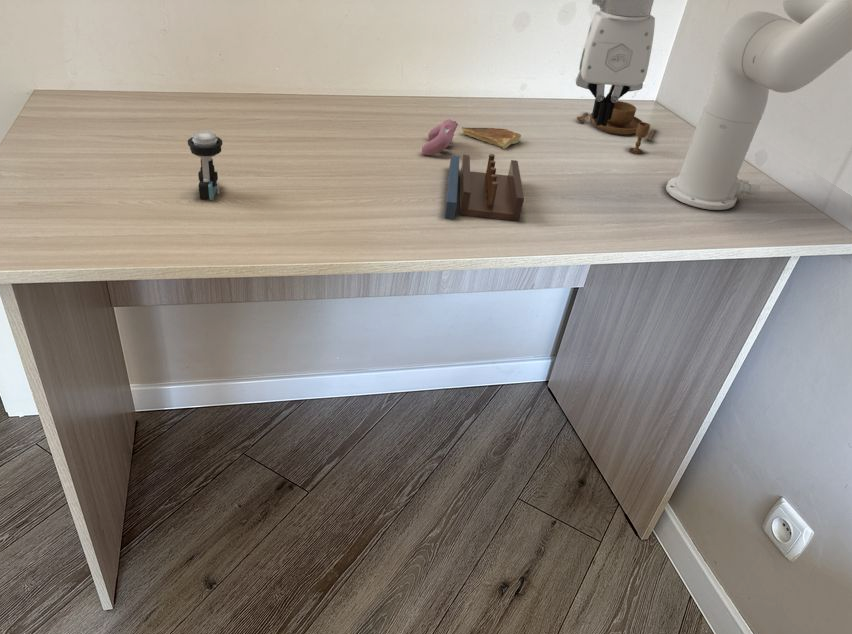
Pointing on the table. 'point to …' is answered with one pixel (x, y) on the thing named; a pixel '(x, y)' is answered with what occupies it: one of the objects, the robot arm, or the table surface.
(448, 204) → the bar
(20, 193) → the table surface
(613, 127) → the place setting
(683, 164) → the robot arm
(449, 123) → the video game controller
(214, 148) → the push button
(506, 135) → the golden brown flat wedge
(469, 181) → the rack
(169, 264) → the table surface
